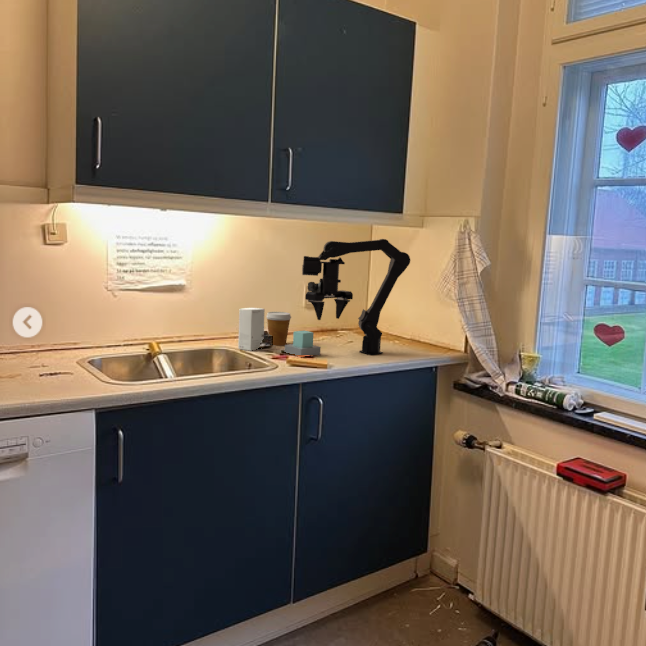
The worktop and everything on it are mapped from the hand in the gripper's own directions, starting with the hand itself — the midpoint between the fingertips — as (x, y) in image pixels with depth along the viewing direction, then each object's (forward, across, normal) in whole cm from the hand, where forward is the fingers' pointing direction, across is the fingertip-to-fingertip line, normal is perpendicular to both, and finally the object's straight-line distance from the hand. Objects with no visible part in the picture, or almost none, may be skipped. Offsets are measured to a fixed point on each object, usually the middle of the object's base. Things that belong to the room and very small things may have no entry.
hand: (328, 319), depth 228 cm
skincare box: (+12, +21, -18) cm, 30 cm away
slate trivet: (+12, +11, -1) cm, 16 cm away
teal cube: (+9, +11, -1) cm, 14 cm away
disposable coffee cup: (+12, +7, -20) cm, 24 cm away
